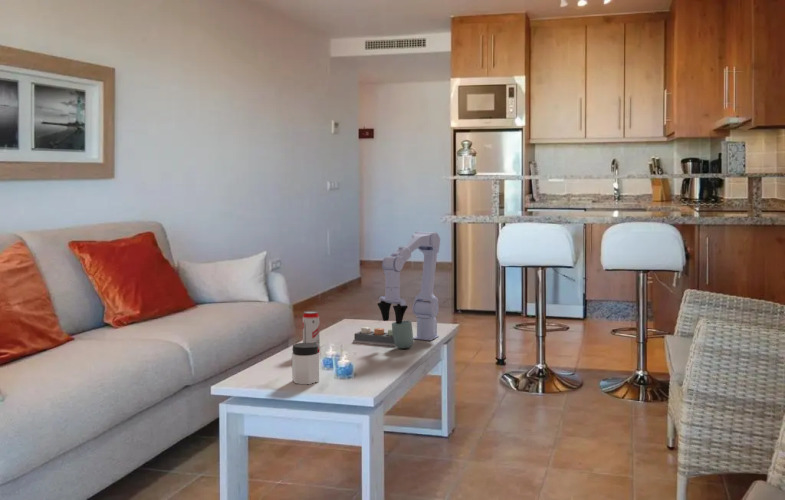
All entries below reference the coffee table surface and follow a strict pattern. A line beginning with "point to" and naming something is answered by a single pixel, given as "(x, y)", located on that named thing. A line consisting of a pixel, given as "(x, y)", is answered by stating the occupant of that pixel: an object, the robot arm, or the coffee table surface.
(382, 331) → the orange egg
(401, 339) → the cup
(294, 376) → the jar
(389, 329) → the pale green egg
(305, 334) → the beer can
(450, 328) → the coffee table surface
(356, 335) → the gray compartment tray
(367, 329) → the white egg
